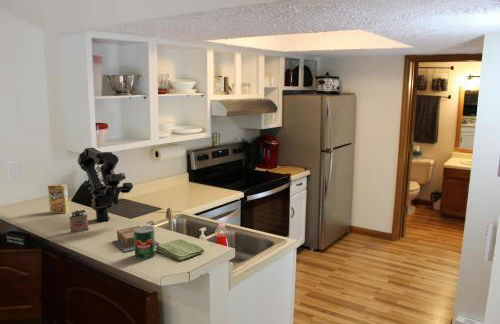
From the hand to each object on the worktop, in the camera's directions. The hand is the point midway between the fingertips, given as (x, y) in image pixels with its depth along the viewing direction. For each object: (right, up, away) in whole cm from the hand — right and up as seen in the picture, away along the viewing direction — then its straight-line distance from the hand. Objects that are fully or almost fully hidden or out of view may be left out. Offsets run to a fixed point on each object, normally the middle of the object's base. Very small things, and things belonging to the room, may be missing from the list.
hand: (116, 204), depth 198 cm
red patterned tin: (-19, -13, +4) cm, 23 cm away
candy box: (-42, -8, +36) cm, 56 cm away
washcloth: (+33, -18, -24) cm, 44 cm away
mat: (+12, -16, -14) cm, 24 cm away
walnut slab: (+7, -12, -7) cm, 15 cm away
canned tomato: (+20, -18, -27) cm, 38 cm away
